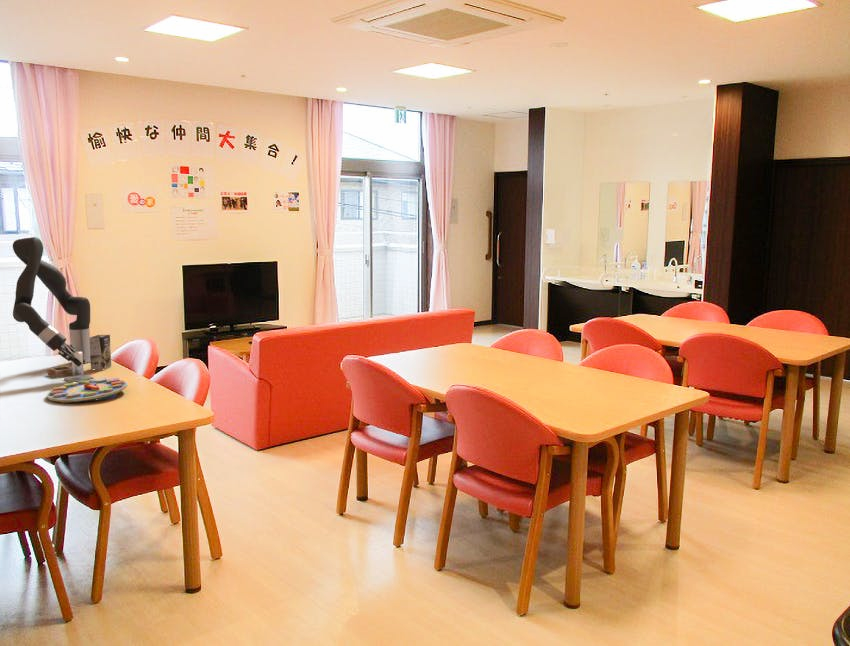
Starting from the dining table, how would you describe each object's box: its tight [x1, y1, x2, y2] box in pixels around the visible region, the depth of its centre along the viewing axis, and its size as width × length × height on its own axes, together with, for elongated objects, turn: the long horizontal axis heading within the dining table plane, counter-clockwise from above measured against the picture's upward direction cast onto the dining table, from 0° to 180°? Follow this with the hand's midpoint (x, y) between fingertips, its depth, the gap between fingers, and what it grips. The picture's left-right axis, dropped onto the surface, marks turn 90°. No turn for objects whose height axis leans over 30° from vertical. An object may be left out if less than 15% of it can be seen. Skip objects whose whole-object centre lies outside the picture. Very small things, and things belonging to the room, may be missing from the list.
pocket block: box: [46, 365, 74, 378], centre depth 338 cm, size 9×9×3 cm
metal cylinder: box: [71, 351, 85, 376], centre depth 327 cm, size 4×4×10 cm
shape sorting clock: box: [46, 377, 128, 404], centre depth 301 cm, size 31×30×6 cm
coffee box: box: [89, 334, 112, 371], centre depth 351 cm, size 9×6×16 cm
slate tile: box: [63, 374, 95, 383], centre depth 328 cm, size 9×9×1 cm
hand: (82, 363), depth 327 cm, fingers closed on metal cylinder, 4 cm apart
